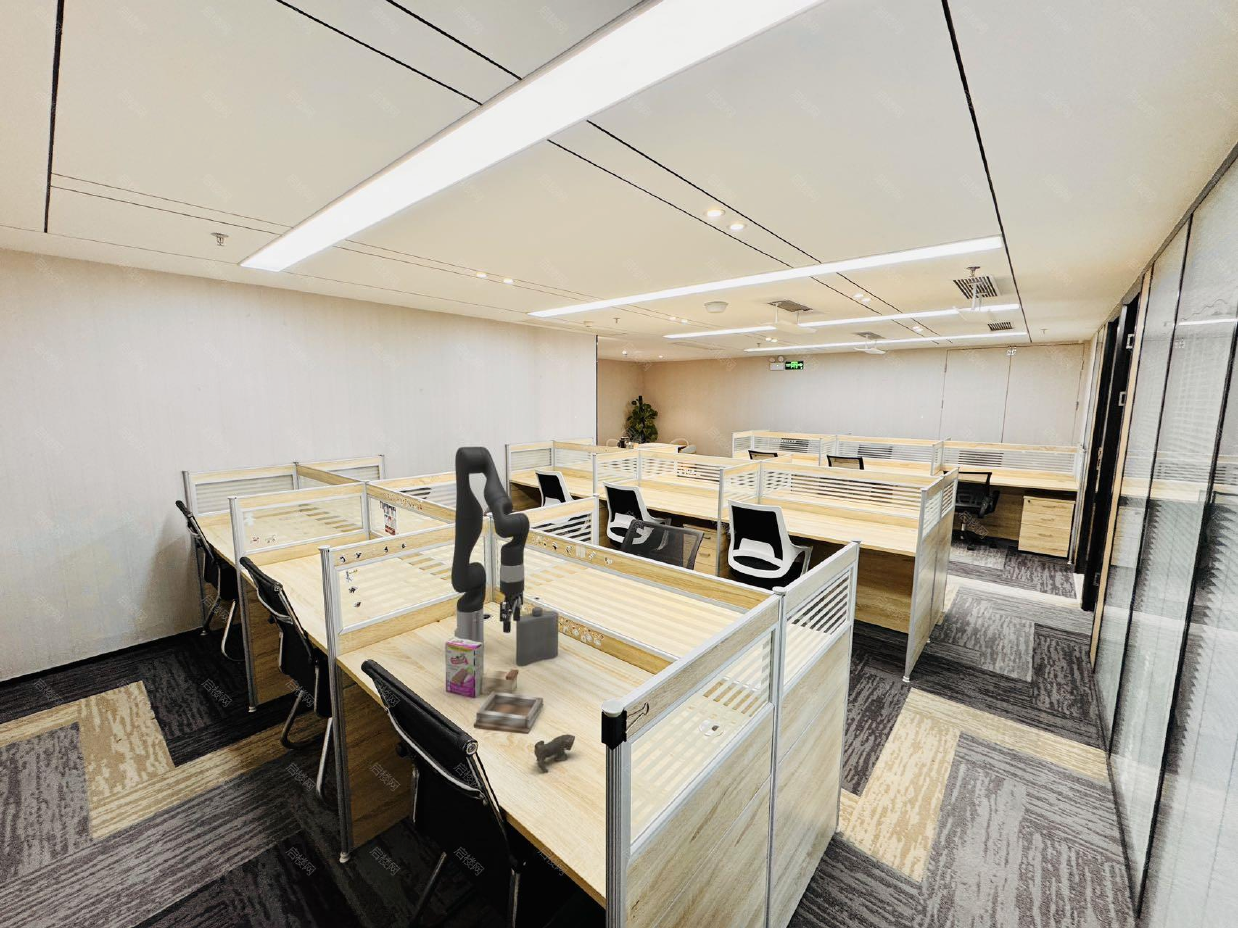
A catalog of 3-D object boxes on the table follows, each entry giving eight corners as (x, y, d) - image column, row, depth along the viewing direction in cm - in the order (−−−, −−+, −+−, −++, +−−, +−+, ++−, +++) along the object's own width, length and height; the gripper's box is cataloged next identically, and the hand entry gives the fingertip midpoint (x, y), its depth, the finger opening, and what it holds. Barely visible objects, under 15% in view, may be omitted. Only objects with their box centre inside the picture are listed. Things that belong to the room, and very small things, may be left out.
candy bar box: (444, 691, 160) (444, 642, 158) (454, 683, 164) (454, 635, 162) (475, 699, 156) (474, 648, 154) (484, 690, 161) (484, 641, 159)
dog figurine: (540, 777, 124) (540, 749, 123) (529, 763, 129) (529, 736, 128) (581, 758, 131) (582, 732, 130) (570, 746, 136) (571, 720, 135)
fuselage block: (481, 694, 159) (481, 673, 158) (487, 686, 163) (487, 666, 163) (513, 698, 157) (513, 677, 156) (518, 690, 162) (518, 669, 161)
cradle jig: (474, 727, 143) (473, 715, 142) (494, 699, 156) (494, 688, 156) (528, 735, 140) (528, 723, 139) (544, 705, 154) (544, 695, 153)
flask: (554, 654, 185) (554, 602, 183) (559, 662, 180) (560, 608, 177) (513, 663, 178) (514, 608, 176) (518, 671, 173) (518, 615, 171)
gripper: (509, 568, 165) (508, 616, 167) (491, 583, 151) (491, 635, 153) (531, 570, 164) (530, 618, 166) (515, 585, 150) (515, 637, 152)
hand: (511, 626), depth 160 cm, fingers open, 8 cm apart
